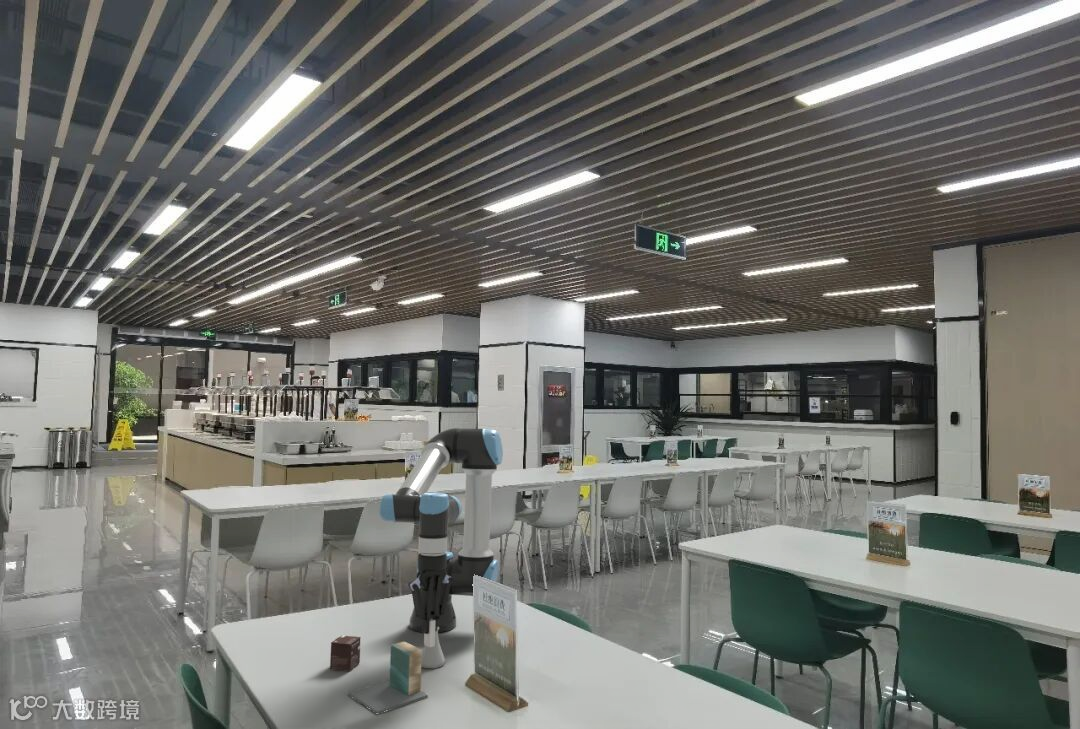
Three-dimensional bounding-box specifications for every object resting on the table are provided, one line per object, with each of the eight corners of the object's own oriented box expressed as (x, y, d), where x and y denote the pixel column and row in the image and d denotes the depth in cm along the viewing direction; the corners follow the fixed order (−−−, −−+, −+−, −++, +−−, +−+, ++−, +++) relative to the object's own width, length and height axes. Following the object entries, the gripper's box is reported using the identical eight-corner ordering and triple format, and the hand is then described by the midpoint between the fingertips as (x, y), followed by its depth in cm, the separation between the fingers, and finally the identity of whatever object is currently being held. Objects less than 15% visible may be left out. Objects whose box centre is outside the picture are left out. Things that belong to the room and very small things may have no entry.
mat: (397, 679, 173) (397, 677, 173) (427, 697, 163) (427, 694, 163) (347, 694, 163) (348, 692, 163) (377, 714, 153) (377, 711, 153)
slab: (403, 681, 171) (404, 641, 172) (420, 690, 165) (421, 649, 166) (389, 685, 168) (390, 644, 169) (406, 695, 162) (408, 653, 163)
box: (349, 672, 178) (350, 644, 178) (329, 670, 179) (330, 642, 179) (360, 663, 184) (361, 636, 184) (340, 661, 185) (341, 634, 185)
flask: (450, 662, 186) (451, 625, 187) (435, 671, 179) (436, 633, 180) (428, 657, 189) (429, 622, 190) (413, 666, 182) (414, 629, 183)
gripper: (444, 547, 181) (441, 636, 179) (403, 553, 172) (399, 647, 170) (461, 552, 176) (458, 643, 174) (419, 558, 167) (416, 655, 165)
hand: (429, 645), depth 172 cm, fingers closed
